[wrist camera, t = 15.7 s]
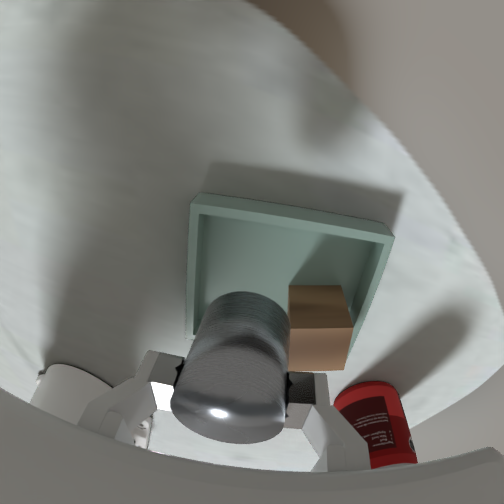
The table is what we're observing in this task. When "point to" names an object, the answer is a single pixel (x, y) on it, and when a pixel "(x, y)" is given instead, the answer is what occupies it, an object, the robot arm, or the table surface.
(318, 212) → the tray
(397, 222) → the table surface
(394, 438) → the canned food
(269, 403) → the metal peg
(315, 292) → the walnut block
